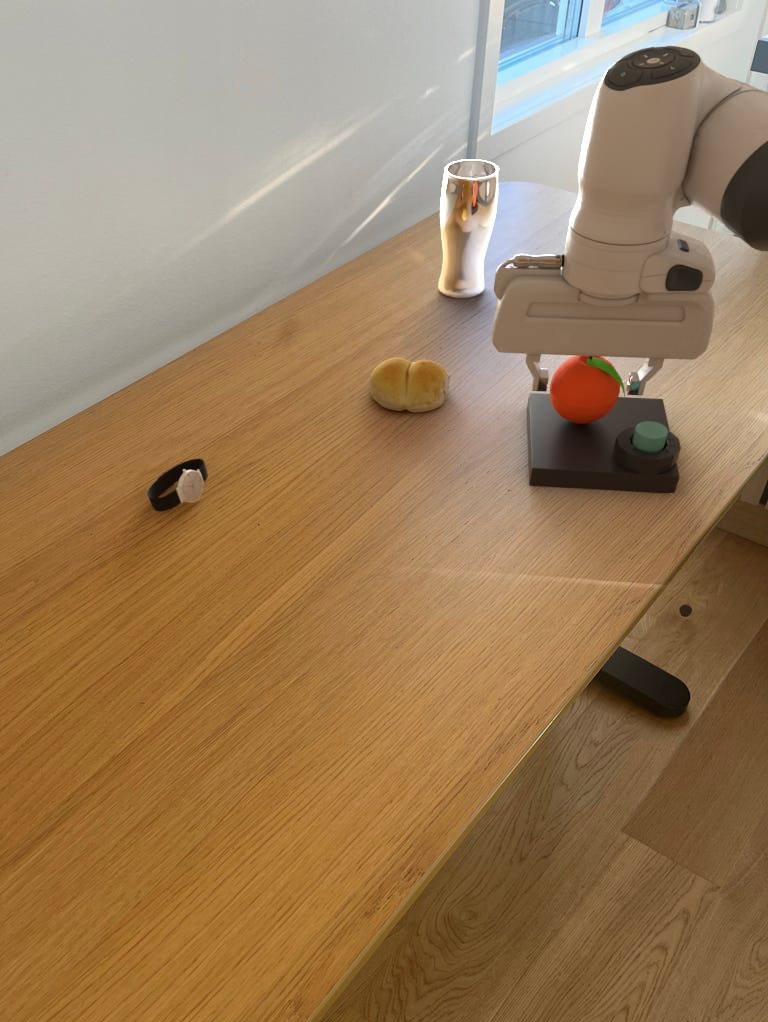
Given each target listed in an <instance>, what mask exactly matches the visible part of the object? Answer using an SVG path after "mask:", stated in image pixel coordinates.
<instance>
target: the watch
mask: <svg viewBox="0 0 768 1022" xmlns="http://www.w3.org/2000/svg"><path fill="white" fill-rule="evenodd" d="M208 477H209V474H208V469H207V466H206V462H205V460H204V459H202V458H192V459H189V460H186V461H183V462H181V463H179V464H177V465H175V466H173V467H172V468H170V469H168V470H167V471H165V472H163V474H161V475H159V476H158V478H157V479H156V480H155V481H154V482H153V483H152V484H151V485H150V487H149V488H148V490H147V496H148V500H149V502H150V504H151V507H152V509H153V510H154V511H155V512H166V511H167V512H168V511H169V510H172V509H174V508H175V507H177V506H179V505H180V504H181V505H182V504H183V503H188V504H192V503H196V502H197V501H198V500H199V499H200V498H201V496H202V495H203V492H204V491H203V490H204V485H205V482H206V481H207V480H208ZM176 483H177V487H176V488H175V489H174V490H173V491H171V492H169V493H167V494H166V495H163V494H164V493H165V492H166V491H167V490H169V489H170V488H171V487H173V486H174V485H175V484H176ZM162 495H163V496H162Z"/></svg>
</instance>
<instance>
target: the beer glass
mask: <svg viewBox="0 0 768 1022" xmlns="http://www.w3.org/2000/svg"><path fill="white" fill-rule="evenodd" d="M499 172H500V168H499V166H498V165H496V164H495V163H493V162H491V161H487V160H482V159H460V160H457V161H452V162H450V163H448V164H447V165H446V166H445V167H444V173H443V180H442V187H441V195H440V196H441V197H440V204H439V205H440V206H439V223H440V235H441V244H442V266H441V272H440V275H439V279H438V283H437V288H438V291H439V292H440V293H441V292H442V293H441V294H442V295H445V296H447V297H450V298H454V299H469V298H473V297H477V296H479V295H481V294H482V293H483V292H484V290H485V276H484V265H485V264H484V263H485V258H486V253H487V249H488V246H489V242H490V239H491V237H492V236H491V235H492V232H493V229H494V224H495V220H496V215H497V207H498V199H499V174H500V173H499Z"/></svg>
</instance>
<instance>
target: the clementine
mask: <svg viewBox="0 0 768 1022" xmlns="http://www.w3.org/2000/svg"><path fill="white" fill-rule="evenodd" d="M621 389H622V393H623V397H626V392H625V391H626V389H625V384H624V382H623V379H622V377H621V376H620V374H619V373H618V371H617V369H616V367H615V366H614V365H613V364H612V362H611V361H609V360H608V359H606V358H605V357H604V356H577V355H573V356H571V357H570V358H568V359H566V360H565V361H564V362H563V363H561V364H560V365H559V366H558V367H557V369H556V370H555V371H554V374H553V376H552V377H551V381H550V384H549V394H550V399H551V402H552V405H553V407H554V409H555V410H556V411H557V413H558V414H559V415H560V416H561V417H563V418H565V419H566V420H568V421H570V422H573V423H578V424H585V423H591V422H594V421H597V420H599V419H601V418H602V417H604V416H605V415H607V414H608V413H609V412H610V411H611V409H612V408H613V407H614V406H615V404H616V401H617V399H618V397H620V393H621Z"/></svg>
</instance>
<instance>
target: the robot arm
mask: <svg viewBox="0 0 768 1022" xmlns="http://www.w3.org/2000/svg"><path fill="white" fill-rule="evenodd" d="M595 91H596V92H595V94H594V96H593V100H592V103H591V106H590V109H589V114H588V117H587V122H586V126H585V130H584V134H583V139H582V144H581V150H580V156H579V161H578V169H577V180H578V196H577V199H576V201H575V204H574V207H573V209H572V211H571V214H570V217H569V221H568V228H567V234H566V239H565V245H564V246H565V247H564V252H563V254H540V255H529V254H527V253H526V254H524V253H519V254H515V255H514V256H513V258H509V259H506V260H505V261H504V262H502V263H501V264H500V265H499V266H498V267H497V269H496V272H495V274H494V284H493V291H494V295H495V297H496V298H497V303H496V307H495V310H494V316H493V321H492V327H491V344H492V345H493V347H494V348H495V350H497V352H498V353H501V354H524V358H525V359H524V361H525V364H526V366H527V368H528V370H529V372H530V374H531V376H532V377H531V387H530V388H531V392H545V393H546V392H547V390H548V384H549V378H550V375H549V368H541V367H540V364H539V363H540V361H541V356H542V355H552V356H553V355H555V356H601V357H604V358H605V357H610V358H633V359H634V358H635V359H646V362H645V363H644V364H643V365H642V366H641V367H640V369H639V370H638V371H629V374H628V377H627V379H628V380H627V382H626V387H625V391H626V396H643V395H644V392H645V389H646V385H647V382H649V381H650V380H651V379H652V378H653V377H654V376H656V374H657V373H658V372H659V371H660V370H662V369H663V365H664V362H665V360H686V361H687V360H688V361H694V360H697V359H698V358H699V357H701V355H704V353H705V352H707V350H708V347H709V344H710V340H711V335H712V332H713V326H714V318H715V309H716V308H715V300H714V297H713V293H712V290H711V289H712V288H713V286H714V283H715V280H716V265H715V262H714V258H713V256H712V253H711V252H710V250H709V248H708V246H707V245H706V243H704V241H702V240H700V239H697V238H695V237H692V236H689V235H686V234H684V233H680V232H677V231H675V230H673V225H674V216H675V213H676V212H677V211H678V210H680V208H685V207H691V206H692V207H694V208H695V209H697V210H698V211H700V212H702V213H704V214H705V215H707V216H709V217H710V218H712V219H714V220H716V221H718V222H719V223H721V224H723V226H725V228H727V229H728V230H729V231H730V232H731V233H733V234H734V235H735V236H737V237H738V238H739V239H740V240H742V241H743V242H744V243H746V245H748V246H749V247H750V248H752V249H753V250H756V251H760V252H768V92H767V91H764V90H763V89H760V88H758V87H756V86H753V85H751V84H748V83H746V82H744V81H740V80H738V79H734V78H731V77H726V76H725V75H723V74H721V73H719V72H717V71H715V70H713V69H712V68H710V67H709V66H708V65H707V64H706V63H704V61H703V60H702V58H701V55H699V54H698V53H697V52H696V51H694V50H692V49H690V48H687V47H681V46H678V45H677V46H675V45H666V46H650V47H645V48H640V49H638V50H635V51H631V52H629V53H627V54H626V55H623V56H622V57H621V58H619V59H618V60H616V61H615V62H613V63H612V64H611V65H610V66H609V67H608V68H607V70H606V71H605V73H604V74H603V77H602V78H601V80H600V82H599V85H598V86H597V89H596V90H595Z"/></svg>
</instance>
